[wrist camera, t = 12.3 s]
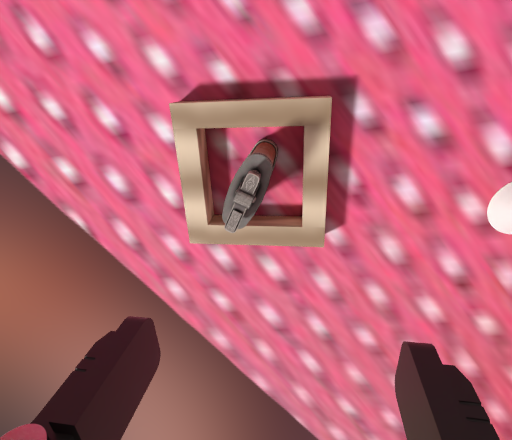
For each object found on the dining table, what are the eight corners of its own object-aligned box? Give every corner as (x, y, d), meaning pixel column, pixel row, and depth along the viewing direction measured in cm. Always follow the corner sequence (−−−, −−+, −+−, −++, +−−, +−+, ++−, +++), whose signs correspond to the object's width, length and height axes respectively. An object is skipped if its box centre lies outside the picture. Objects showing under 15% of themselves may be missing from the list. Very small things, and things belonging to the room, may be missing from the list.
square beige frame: (179, 101, 34) (169, 103, 31) (329, 95, 32) (332, 97, 29) (197, 232, 41) (190, 243, 38) (322, 235, 38) (323, 247, 36)
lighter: (256, 133, 34) (240, 153, 25) (284, 146, 34) (278, 171, 25) (230, 195, 38) (208, 232, 29) (256, 206, 38) (241, 247, 29)
